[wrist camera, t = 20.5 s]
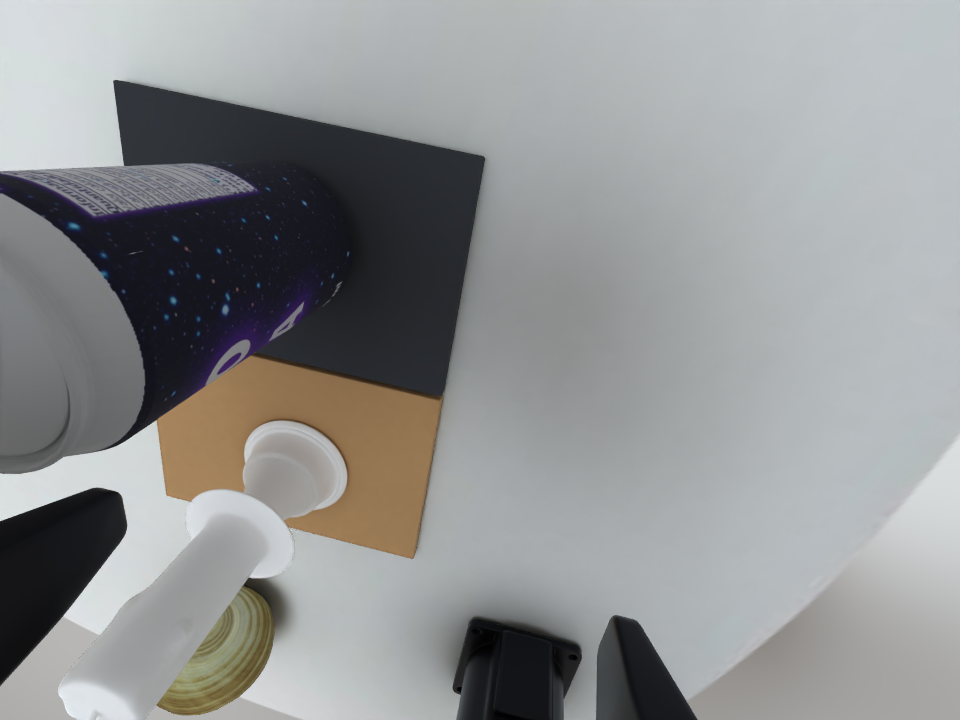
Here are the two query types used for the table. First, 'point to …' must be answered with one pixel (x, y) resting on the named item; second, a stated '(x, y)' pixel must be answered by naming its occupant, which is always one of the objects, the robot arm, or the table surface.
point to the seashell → (225, 658)
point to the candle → (206, 572)
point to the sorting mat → (331, 312)
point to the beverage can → (148, 291)
